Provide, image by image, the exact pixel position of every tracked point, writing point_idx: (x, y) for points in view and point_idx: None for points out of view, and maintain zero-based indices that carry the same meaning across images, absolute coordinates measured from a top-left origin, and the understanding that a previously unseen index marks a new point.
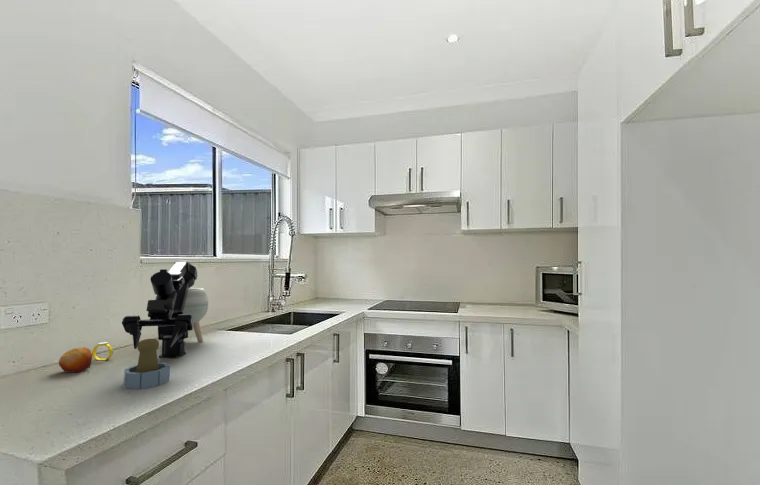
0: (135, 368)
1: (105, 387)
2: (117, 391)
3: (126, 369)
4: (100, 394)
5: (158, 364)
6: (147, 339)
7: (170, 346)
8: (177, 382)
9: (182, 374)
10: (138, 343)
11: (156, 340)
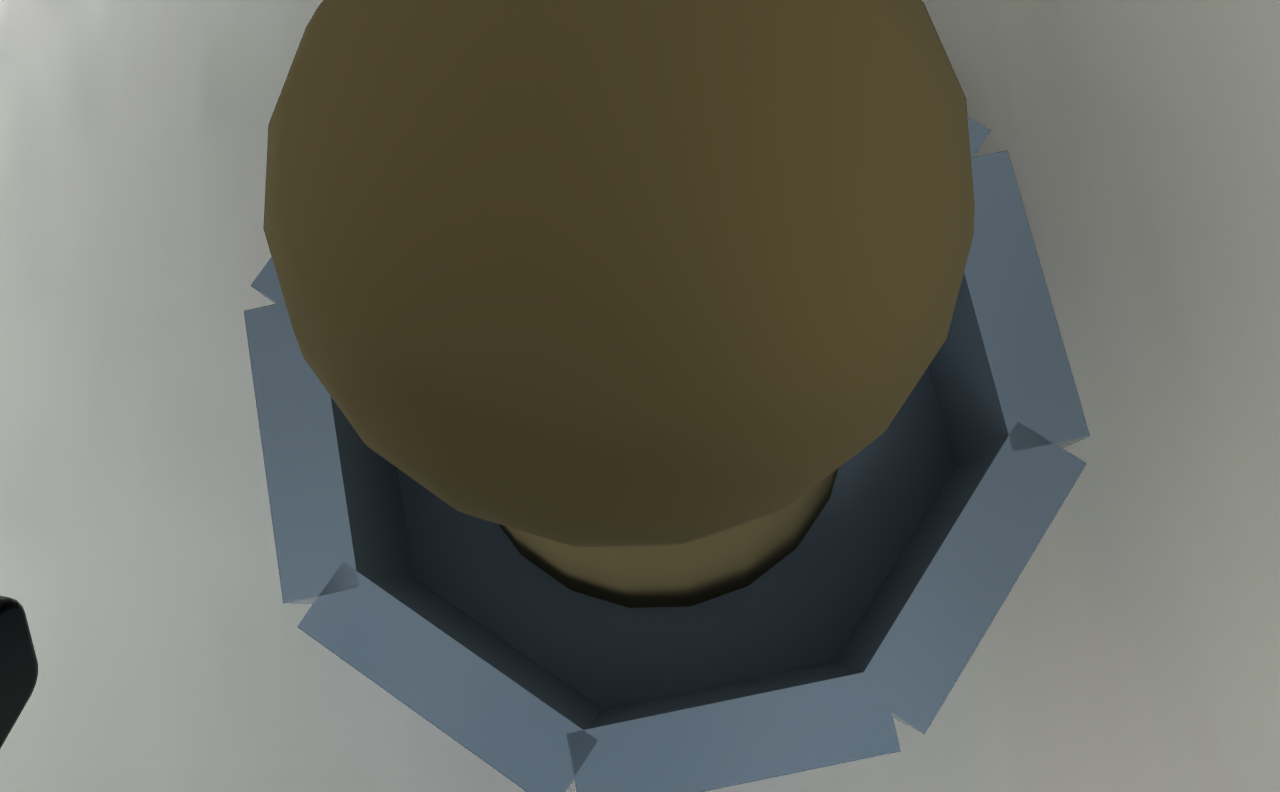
0: (893, 608)
1: (1241, 419)
2: (1016, 137)
3: (1043, 426)
4: (1219, 100)
5: (459, 642)
6: (650, 91)
7: (4, 623)
8: (231, 198)
9: (126, 620)
10: (966, 140)
11: (313, 54)
